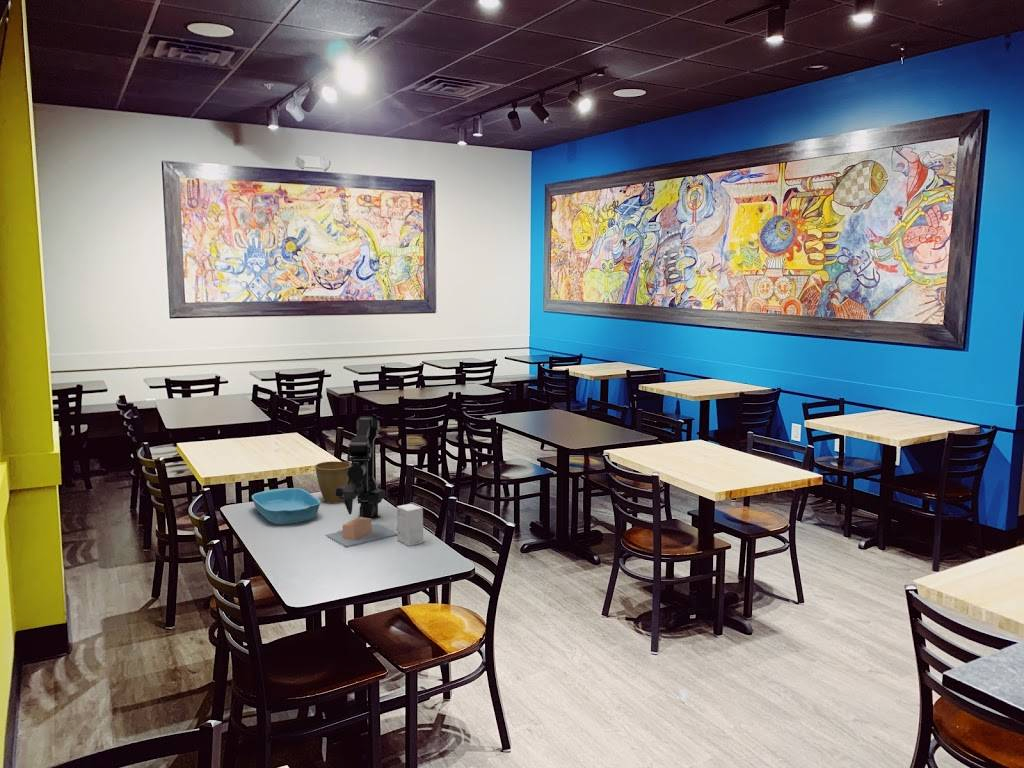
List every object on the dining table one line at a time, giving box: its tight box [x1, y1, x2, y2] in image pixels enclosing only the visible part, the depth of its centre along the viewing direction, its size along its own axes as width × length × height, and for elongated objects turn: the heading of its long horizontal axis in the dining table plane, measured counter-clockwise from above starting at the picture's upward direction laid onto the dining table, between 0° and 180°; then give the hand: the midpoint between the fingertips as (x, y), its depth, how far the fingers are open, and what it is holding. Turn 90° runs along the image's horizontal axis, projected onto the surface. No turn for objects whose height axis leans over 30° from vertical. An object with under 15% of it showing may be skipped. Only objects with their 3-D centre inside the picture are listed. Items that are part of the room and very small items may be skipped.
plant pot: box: [314, 460, 351, 504], centre depth 334 cm, size 15×15×16 cm
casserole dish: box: [251, 487, 321, 525], centre depth 315 cm, size 37×22×7 cm, turn 32°
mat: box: [324, 523, 397, 548], centre depth 289 cm, size 22×16×1 cm
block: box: [342, 516, 372, 540], centre depth 288 cm, size 5×5×11 cm
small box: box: [396, 503, 424, 547], centre depth 282 cm, size 8×6×13 cm
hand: (360, 515), depth 289 cm, fingers open, 9 cm apart
